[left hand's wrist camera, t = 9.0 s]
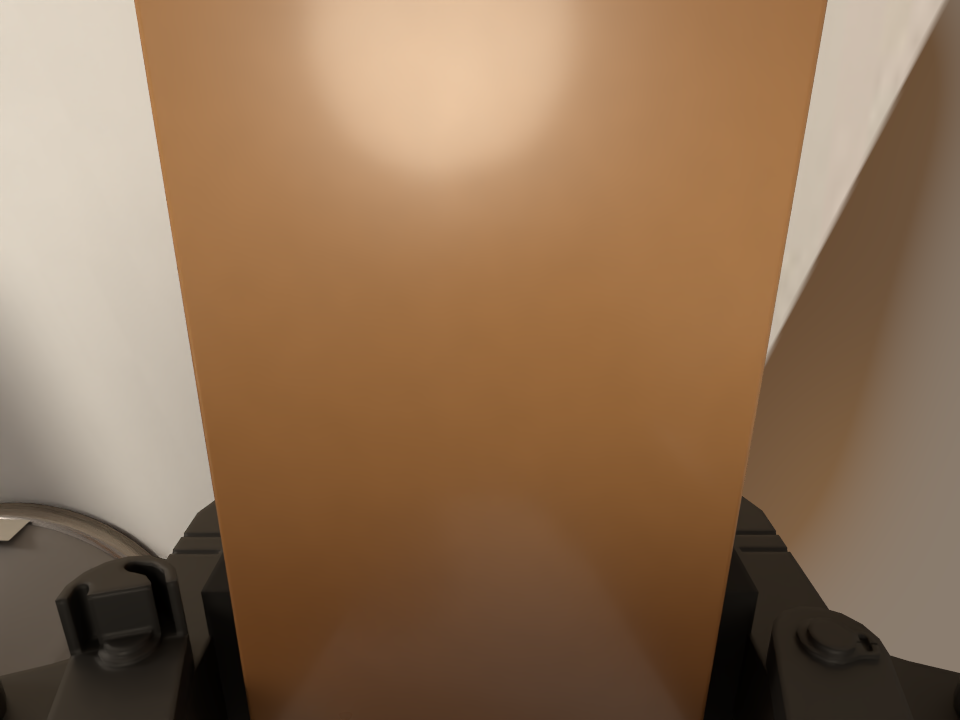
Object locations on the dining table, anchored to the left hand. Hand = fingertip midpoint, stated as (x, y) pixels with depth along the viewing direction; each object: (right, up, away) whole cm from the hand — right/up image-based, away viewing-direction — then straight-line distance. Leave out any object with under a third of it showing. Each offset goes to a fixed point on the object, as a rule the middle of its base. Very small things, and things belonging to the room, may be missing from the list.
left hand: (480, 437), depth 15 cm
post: (0, +27, -10) cm, 29 cm away
